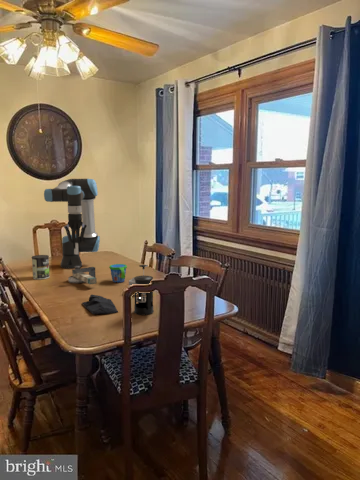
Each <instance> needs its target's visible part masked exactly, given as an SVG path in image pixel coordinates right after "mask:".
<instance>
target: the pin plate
mask: <svg viewBox="0 0 360 480" xmlns="http://www.w3.org/2000/svg"><path fill="white" fill-rule="evenodd" d="M68 283H69V284H83V283H85V282H84V281H82V280H80V279H78V278H75V277H73V275H71V276H69V277H68Z"/></svg>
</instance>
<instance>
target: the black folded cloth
mask: <svg viewBox="0 0 360 480" xmlns="http://www.w3.org/2000/svg"><path fill="white" fill-rule="evenodd" d="M81 304H82V305H83V307H84V308H85V309H87V310H88V312H90V313H91V314H92V315H100V314H104V315H106V314H117V313H119V310H118V309H117V307H116V305H115V304H114V302H113V301H112V299H110V298H107V297H104V296H102V295H96V294H90V296H89V298H88V301H83V302H81Z"/></svg>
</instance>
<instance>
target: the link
mask: <svg viewBox="0 0 360 480" xmlns="http://www.w3.org/2000/svg"><path fill="white" fill-rule="evenodd" d="M80 268H81V267H80V266H74V268H73V269H80ZM71 273H72V272H71ZM71 276H73V277H75V278H78V279H80V280H82V281H84V282H83V283H86V284H89V285H95V284H97V282H98V281H97V277H96V276H95V277H96V278H95V277H92V276H90V275H89V273H86V272H83V273H76V274H74V273H72V274H71Z"/></svg>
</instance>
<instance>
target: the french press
mask: <svg viewBox="0 0 360 480" xmlns="http://www.w3.org/2000/svg"><path fill="white" fill-rule="evenodd" d="M138 266H139V267H140V268H142V272H143V273H142V275H137V276H135V277H133V278H134V279H135V283H136V284H149V283H150V281H151V280H152V281H153V279H154V277H153V276H152V275H145V268H146V267H149V265H148V264H140V265H138ZM137 293H138V295H136V293H135V295H134V309H133V313H134V314H135V315H139V316H148V315H149V316H150V315H153V313H154V291H153V292H150V293H146V295H144V293H143V295H142V293H139V292H137ZM137 296H138V297H137Z"/></svg>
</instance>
